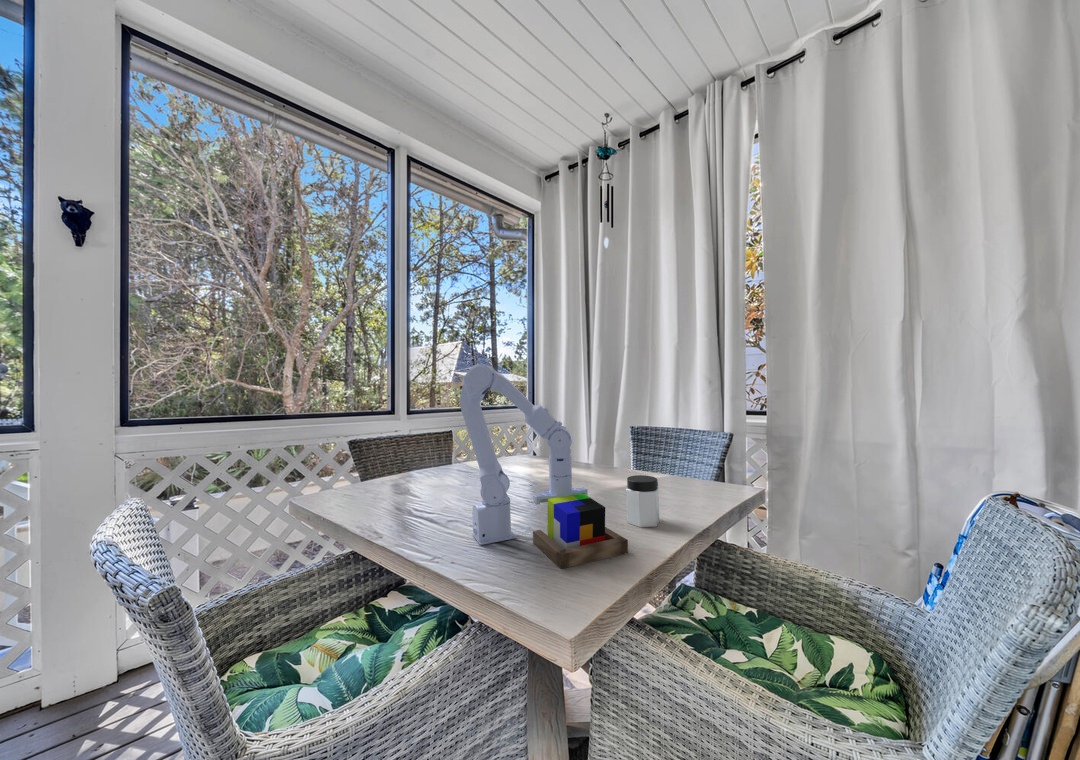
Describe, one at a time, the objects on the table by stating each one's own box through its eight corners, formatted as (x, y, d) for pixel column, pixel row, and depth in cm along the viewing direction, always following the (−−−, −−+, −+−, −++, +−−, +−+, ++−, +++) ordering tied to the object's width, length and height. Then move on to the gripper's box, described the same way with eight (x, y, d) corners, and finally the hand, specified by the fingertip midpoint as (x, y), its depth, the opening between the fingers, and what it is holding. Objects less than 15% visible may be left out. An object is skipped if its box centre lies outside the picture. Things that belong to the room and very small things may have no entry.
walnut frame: (560, 568, 86) (560, 554, 86) (533, 543, 100) (532, 531, 100) (628, 553, 93) (627, 539, 93) (593, 531, 107) (593, 519, 107)
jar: (666, 523, 111) (665, 479, 111) (646, 530, 106) (645, 484, 106) (640, 514, 118) (639, 473, 118) (620, 521, 114) (619, 477, 114)
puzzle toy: (566, 557, 91) (566, 514, 91) (547, 539, 100) (547, 499, 100) (604, 549, 95) (605, 507, 95) (583, 532, 104) (583, 493, 104)
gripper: (577, 468, 111) (579, 518, 111) (528, 474, 105) (529, 527, 105) (591, 473, 105) (592, 526, 105) (539, 480, 99) (540, 537, 99)
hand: (561, 527), depth 104 cm, fingers closed, pressing on puzzle toy
